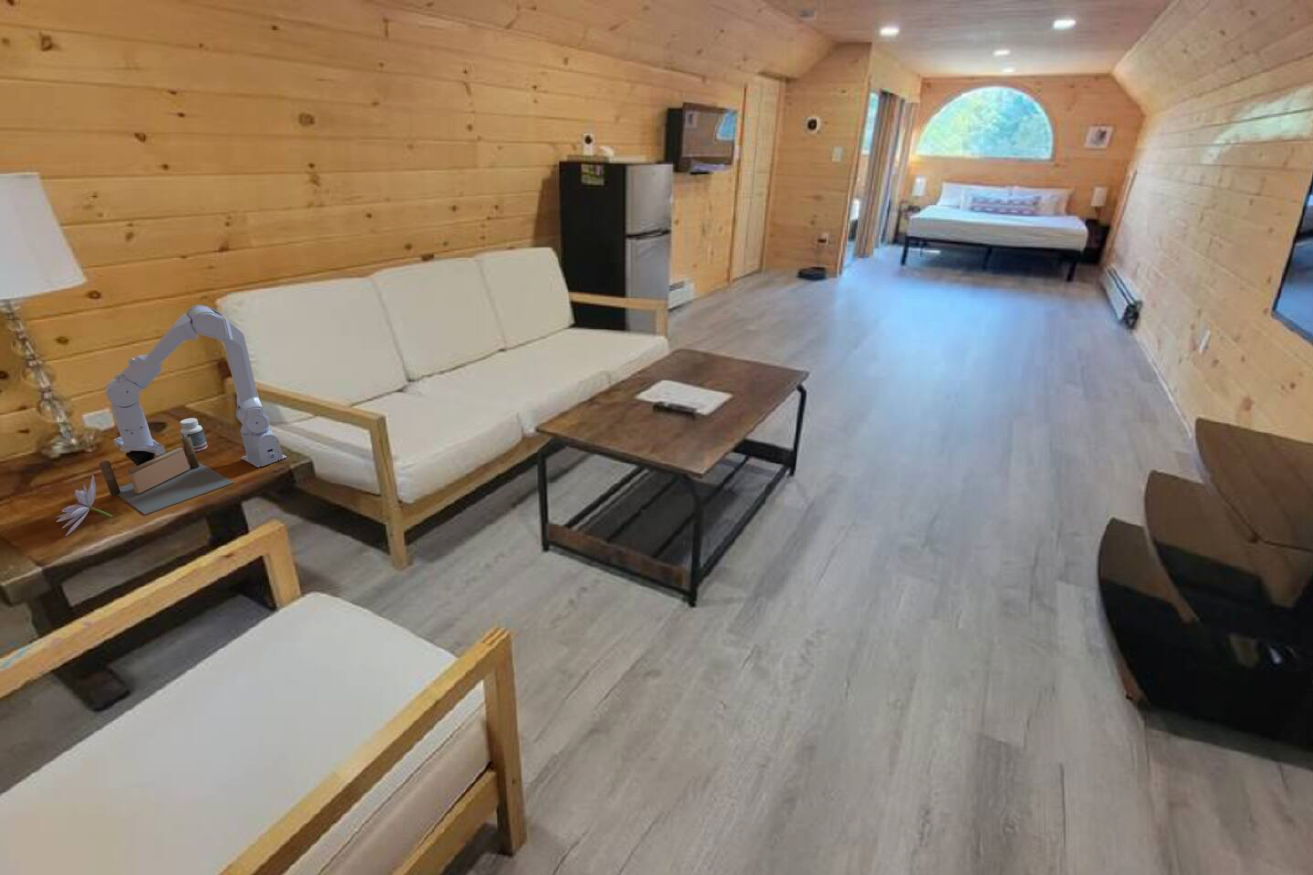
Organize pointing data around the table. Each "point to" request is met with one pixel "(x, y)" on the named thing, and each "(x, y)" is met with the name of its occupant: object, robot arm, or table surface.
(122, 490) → the mat
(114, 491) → the brown wooden posts
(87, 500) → the water lily
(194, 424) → the pill bottle
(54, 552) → the table surface
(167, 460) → the brown rimmed panel
